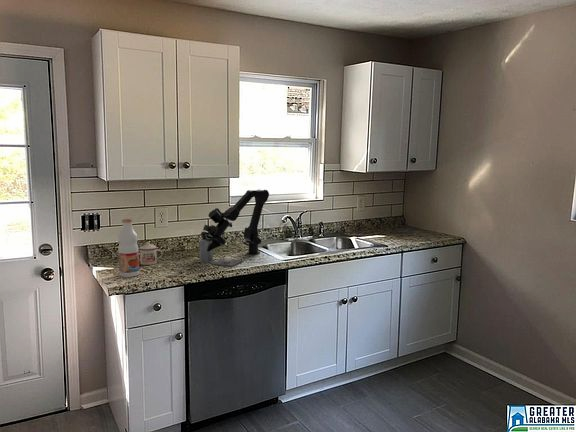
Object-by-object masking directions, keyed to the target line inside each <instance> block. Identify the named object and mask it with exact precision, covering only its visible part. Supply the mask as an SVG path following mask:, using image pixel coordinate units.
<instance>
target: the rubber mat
mask: <svg viewBox="0 0 576 432" xmlns="http://www.w3.org/2000/svg"><path fill="white" fill-rule="evenodd" d="M242 263H244V260H243V259H242V260H241V259H236V258H235V259H234V258H232V257H231V256H224V257H222V258H220V259H218V260H215V261H213V262H210V264H211V266H218V265H219V267H227V268H233V267H236V266H238V265H240V264H242Z"/></svg>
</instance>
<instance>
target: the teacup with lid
mask: <svg viewBox="0 0 576 432" xmlns="http://www.w3.org/2000/svg"><path fill="white" fill-rule="evenodd" d="M157 252H160V255H159V256H157ZM162 256H163V251H162V250H161V249H158V247H157V246H156V245H154V244H152V243H151V242H146V243H145V244H143V245H142V246H140V247H139V258H140V259H139V261H140V262H139V264H140V265H142V266H151V265H156V264H157V263H158V259H161V258H162Z"/></svg>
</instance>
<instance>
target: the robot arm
mask: <svg viewBox="0 0 576 432" xmlns="http://www.w3.org/2000/svg"><path fill="white" fill-rule="evenodd" d="M269 196H270V192H269V191H268V189H263V188H258V189H256V190H254V189H253V190H252V189H248V190H247V191H245V193H244V194H243V195H242V197H241V198H239V200H238V201H237V202H236V203H234V205H233V206H231V207H229V208H228V209H226V210H225V211H224V212H222V211H221V210H220V209H219V208H216V207H215V209H213V210H211V211H210V212H208V218H210V219H211V220H212V222H214V224H215V225H213V224H211V225H208V224H204V226H203V229H202V231H201V233H200V236H201V239H212V243H211V244H210V246H209V248H208V249H207V251H208V252H209V251H211V250H213V251H214V249H216V248H218V247H221V246H225V245H226V244H227V243H226V240H225V239H224V237H223V236H224V235H225V234H226V233H225V232H226V230H227V229H228V228H233V222H235V221H236V220H237V219H238V218H239V216H240V213H241V211H242V209H244V208H245V206H247V204H248V203H249V202H250V201H251V200H252V199H254V201H255V203H254V207H253V212H252V214H251V219H250V222H249V225H248V227H245V228H244V232H243V239H244V240H245V242H246V243H248V251H247V252H246V254H247V255H258V254H260V253H261V251H259V245H261V243H262V239H261V238H260V237H259V228H258V227H259V223H260V219H261V215H262V212H263V207H264V205H265V204H266V203H267V201H268V199H269Z"/></svg>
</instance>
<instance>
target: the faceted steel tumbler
mask: <svg viewBox="0 0 576 432" xmlns="http://www.w3.org/2000/svg"><path fill="white" fill-rule="evenodd" d="M198 241H199V242H198V243H199V245H198V247H199V249H198V251H199V252H198V253H199V263H201V264H211V263H213V262H214V256H213V255H214V249H213V250H211V251H209V252H208V251H207V249H208V248H209V246H210V244H211V243H212V239H203V238H201V239H199V240H198Z"/></svg>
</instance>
